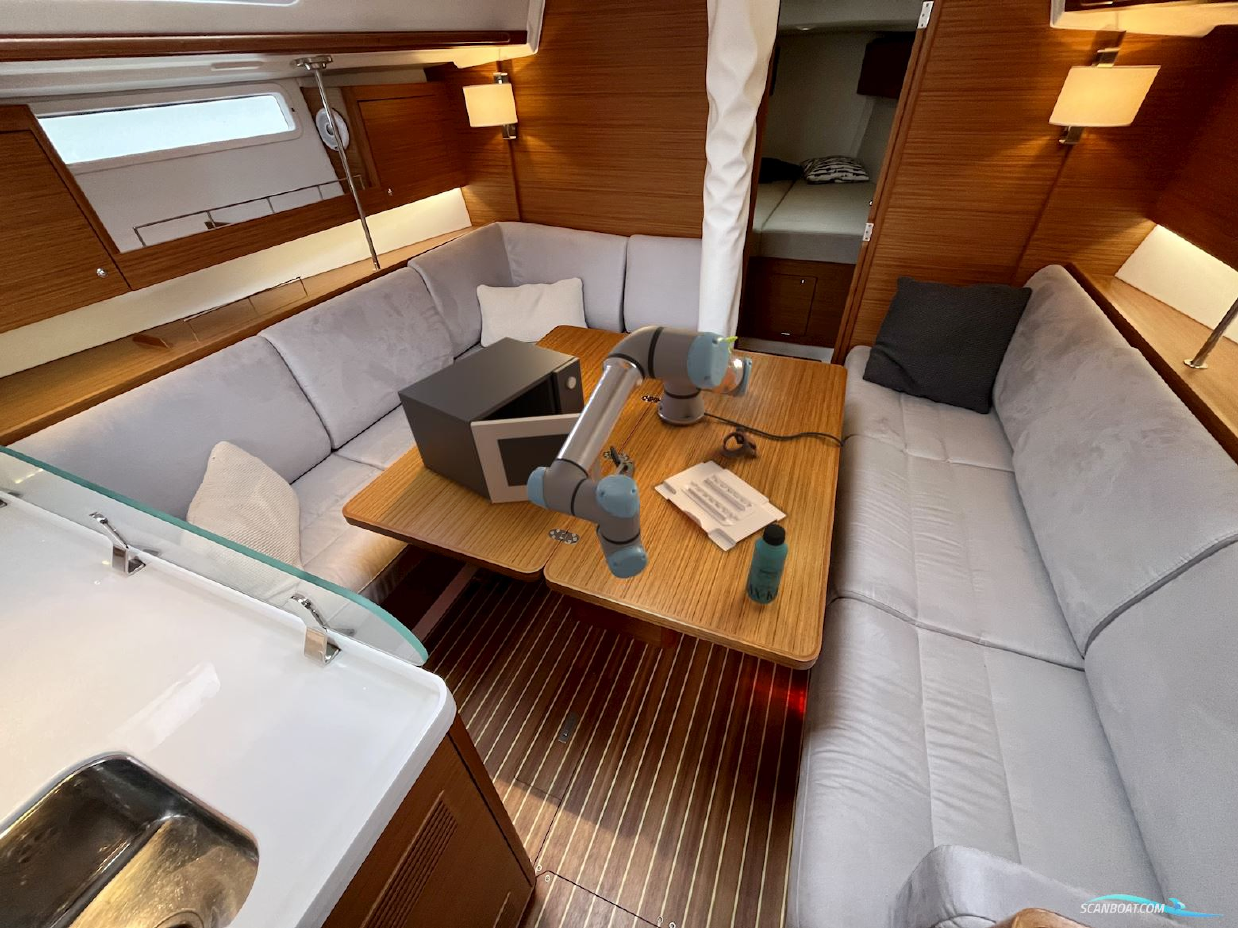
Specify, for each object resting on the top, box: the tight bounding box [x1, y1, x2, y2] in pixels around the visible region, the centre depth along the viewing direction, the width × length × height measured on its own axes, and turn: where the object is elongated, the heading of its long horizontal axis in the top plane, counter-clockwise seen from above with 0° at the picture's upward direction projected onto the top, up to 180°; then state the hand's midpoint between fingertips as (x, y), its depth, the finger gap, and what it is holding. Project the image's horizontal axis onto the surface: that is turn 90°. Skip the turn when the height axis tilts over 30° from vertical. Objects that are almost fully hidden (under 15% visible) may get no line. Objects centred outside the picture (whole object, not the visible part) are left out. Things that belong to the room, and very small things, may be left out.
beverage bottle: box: [745, 523, 789, 605], centre depth 98 cm, size 6×7×20 cm
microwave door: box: [471, 413, 603, 504], centre depth 123 cm, size 8×30×25 cm, turn 94°
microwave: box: [396, 336, 585, 501], centre depth 144 cm, size 30×40×25 cm
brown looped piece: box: [721, 426, 758, 459], centre depth 142 cm, size 12×10×8 cm
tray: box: [654, 460, 787, 552], centre depth 127 cm, size 20×28×4 cm
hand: (584, 456), depth 120 cm, fingers open, 13 cm apart
